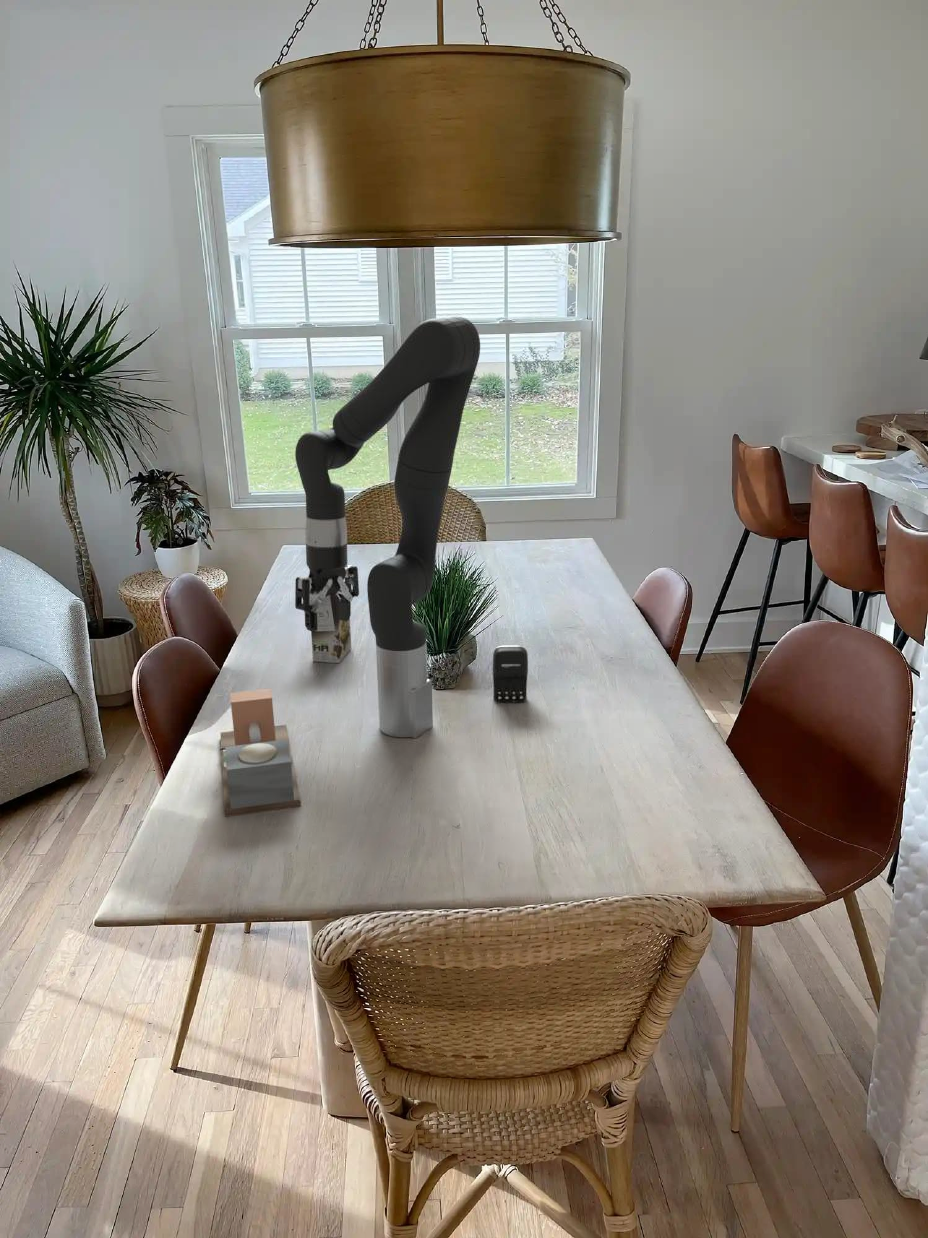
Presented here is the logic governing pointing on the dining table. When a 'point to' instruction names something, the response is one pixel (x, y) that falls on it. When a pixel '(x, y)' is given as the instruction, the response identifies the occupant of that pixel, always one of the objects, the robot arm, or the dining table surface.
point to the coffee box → (330, 632)
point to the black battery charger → (510, 674)
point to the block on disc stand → (252, 717)
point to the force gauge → (258, 775)
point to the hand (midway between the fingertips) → (328, 625)
